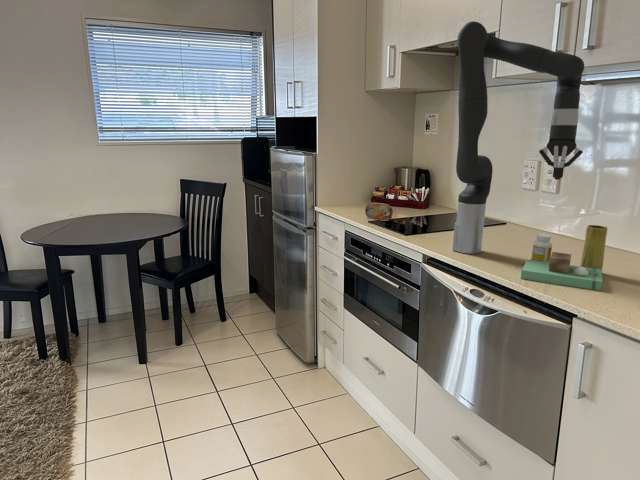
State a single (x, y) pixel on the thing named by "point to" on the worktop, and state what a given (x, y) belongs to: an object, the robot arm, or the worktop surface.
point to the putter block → (560, 262)
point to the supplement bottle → (542, 248)
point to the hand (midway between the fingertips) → (557, 179)
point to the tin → (379, 211)
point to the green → (561, 275)
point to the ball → (580, 271)
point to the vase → (594, 247)
